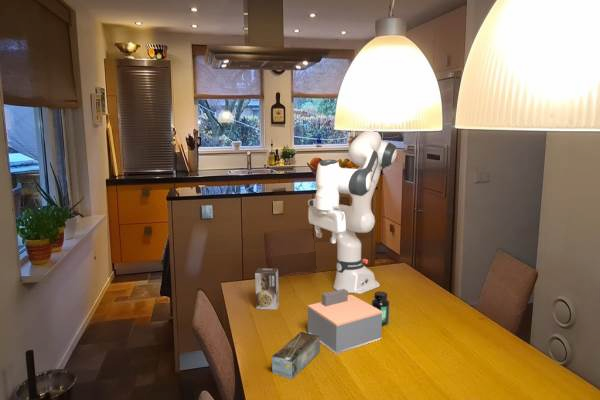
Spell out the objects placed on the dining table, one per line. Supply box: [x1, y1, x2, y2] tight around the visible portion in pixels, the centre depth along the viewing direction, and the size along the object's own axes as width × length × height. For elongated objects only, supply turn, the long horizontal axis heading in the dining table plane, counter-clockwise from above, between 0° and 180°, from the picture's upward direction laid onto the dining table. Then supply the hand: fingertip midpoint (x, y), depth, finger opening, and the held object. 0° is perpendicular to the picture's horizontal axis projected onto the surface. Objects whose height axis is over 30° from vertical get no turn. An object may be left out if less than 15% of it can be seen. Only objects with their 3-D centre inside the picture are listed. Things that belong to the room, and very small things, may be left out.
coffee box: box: [254, 267, 280, 311], centre depth 188 cm, size 9×6×16 cm
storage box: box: [307, 307, 383, 355], centre depth 162 cm, size 20×18×10 cm
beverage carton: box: [271, 331, 321, 380], centre depth 145 cm, size 8×19×7 cm, turn 150°
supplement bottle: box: [371, 290, 390, 327], centre depth 174 cm, size 7×7×12 cm
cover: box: [307, 289, 382, 326], centre depth 161 cm, size 20×18×5 cm
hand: (325, 240), depth 168 cm, fingers open, 8 cm apart
